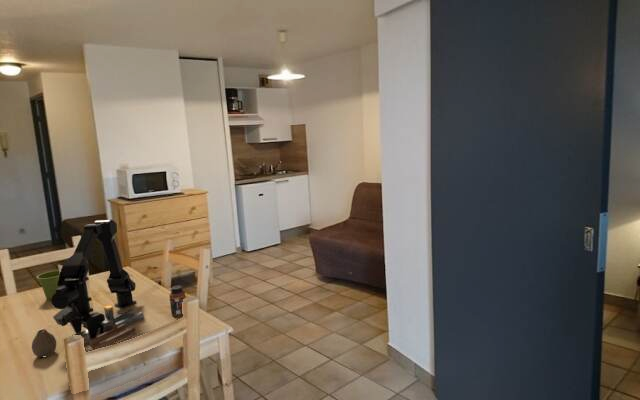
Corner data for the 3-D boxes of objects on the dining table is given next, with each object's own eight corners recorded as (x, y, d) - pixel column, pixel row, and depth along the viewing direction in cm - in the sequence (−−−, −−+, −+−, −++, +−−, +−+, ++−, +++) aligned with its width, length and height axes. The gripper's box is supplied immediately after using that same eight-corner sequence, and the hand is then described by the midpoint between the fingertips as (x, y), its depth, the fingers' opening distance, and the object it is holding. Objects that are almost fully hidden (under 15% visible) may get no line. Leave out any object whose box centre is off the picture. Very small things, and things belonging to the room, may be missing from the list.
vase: (41, 350, 142) (36, 326, 141) (62, 348, 143) (57, 325, 141) (29, 361, 135) (24, 336, 134) (51, 359, 136) (46, 334, 134)
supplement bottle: (182, 317, 162) (179, 290, 160) (168, 316, 163) (165, 289, 161) (189, 310, 167) (186, 284, 166) (176, 310, 169) (173, 284, 167)
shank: (70, 345, 144) (69, 336, 144) (96, 334, 152) (94, 325, 151) (75, 348, 143) (73, 338, 142) (100, 336, 150) (99, 327, 150)
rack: (90, 345, 143) (89, 339, 143) (124, 329, 154) (123, 323, 154) (102, 350, 140) (101, 344, 139) (136, 333, 150) (135, 327, 150)
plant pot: (75, 294, 192) (71, 271, 191) (48, 304, 183) (44, 280, 181) (62, 290, 199) (59, 268, 197) (35, 299, 189) (31, 276, 187)
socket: (93, 331, 154) (91, 319, 153) (132, 314, 167) (130, 303, 166) (105, 336, 150) (103, 323, 149) (144, 318, 163) (142, 306, 162)
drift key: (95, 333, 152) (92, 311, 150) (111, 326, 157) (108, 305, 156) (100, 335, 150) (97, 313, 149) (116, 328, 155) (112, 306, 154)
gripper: (41, 301, 143) (48, 342, 145) (69, 310, 133) (77, 354, 136) (73, 289, 152) (80, 328, 155) (102, 297, 142) (109, 339, 145)
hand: (85, 337), depth 147 cm, fingers open, 9 cm apart
